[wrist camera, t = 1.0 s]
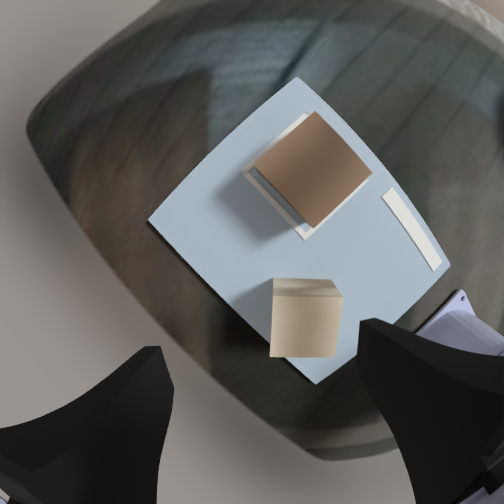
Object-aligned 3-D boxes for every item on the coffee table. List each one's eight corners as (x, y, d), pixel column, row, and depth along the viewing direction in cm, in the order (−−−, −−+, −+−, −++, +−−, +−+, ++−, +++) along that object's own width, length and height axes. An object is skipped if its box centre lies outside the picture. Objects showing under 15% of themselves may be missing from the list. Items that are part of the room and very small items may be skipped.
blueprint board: (447, 263, 20) (451, 265, 19) (314, 380, 23) (315, 385, 22) (296, 79, 18) (296, 75, 17) (151, 219, 21) (147, 219, 20)
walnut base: (354, 177, 19) (372, 172, 15) (305, 222, 20) (313, 228, 16) (307, 127, 18) (314, 110, 14) (257, 171, 19) (253, 165, 15)
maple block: (331, 279, 20) (343, 297, 16) (324, 331, 21) (334, 357, 17) (273, 277, 21) (272, 296, 17) (270, 330, 21) (269, 356, 18)
